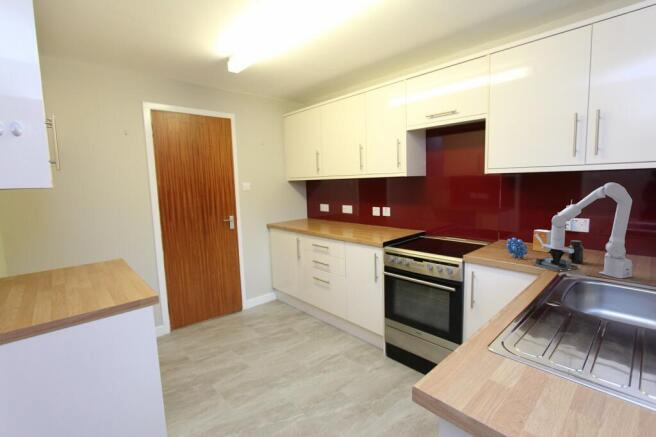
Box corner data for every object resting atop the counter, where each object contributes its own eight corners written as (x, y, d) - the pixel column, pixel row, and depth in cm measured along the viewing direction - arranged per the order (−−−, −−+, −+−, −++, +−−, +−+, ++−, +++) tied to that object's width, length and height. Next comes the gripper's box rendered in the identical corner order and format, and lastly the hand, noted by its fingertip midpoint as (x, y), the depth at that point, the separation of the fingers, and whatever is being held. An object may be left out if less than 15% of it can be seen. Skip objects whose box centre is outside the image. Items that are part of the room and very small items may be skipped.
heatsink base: (577, 268, 163) (578, 260, 162) (556, 271, 159) (557, 263, 159) (552, 262, 176) (552, 254, 176) (532, 264, 173) (532, 257, 172)
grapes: (502, 257, 190) (503, 237, 189) (507, 255, 195) (507, 236, 193) (524, 260, 181) (525, 240, 180) (528, 258, 186) (529, 238, 184)
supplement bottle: (579, 260, 176) (580, 239, 175) (585, 264, 170) (587, 242, 168) (565, 260, 178) (566, 239, 177) (570, 263, 172) (571, 242, 170)
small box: (532, 250, 204) (533, 230, 202) (538, 248, 207) (538, 229, 205) (546, 252, 197) (546, 231, 195) (551, 251, 200) (552, 230, 198)
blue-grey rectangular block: (557, 264, 166) (557, 259, 166) (550, 265, 165) (550, 260, 165) (545, 261, 173) (545, 256, 173) (538, 262, 172) (538, 257, 172)
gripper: (578, 239, 158) (576, 266, 159) (548, 235, 171) (546, 259, 173) (569, 241, 155) (568, 268, 157) (539, 236, 168) (538, 261, 170)
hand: (556, 263), depth 164 cm, fingers closed
